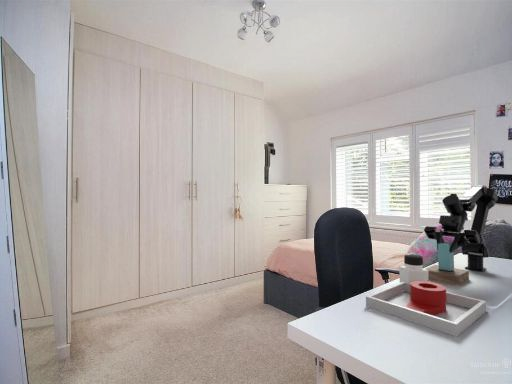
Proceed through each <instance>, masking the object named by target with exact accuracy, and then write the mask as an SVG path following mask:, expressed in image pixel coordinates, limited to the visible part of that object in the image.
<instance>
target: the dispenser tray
mask: <svg viewBox="0 0 512 384" xmlns="http://www.w3.org/2000/svg"><path fill="white" fill-rule="evenodd" d="M404 292H406V293H410V283H407V282H401V283H400V282H399V283H396V284H394V285H391V286H388V287H387V288H384V289H383V288H382V289H381V290H379V291H376V292H374V293H370V294H368V295H366V296H365V307H368V308H371V309H374V310H376V311H380V312H383V313H386V314H388V315H391V316H393V317H397V318H399V319H403V320H405V321H406V320H407V321H409V322H411V323H414V324H417V325H420V326H423V327H426V328H429V329H432V330H436V331H438V332H440V333H441V332H442V333H444V334H447V335H450V336H454V337H455V338H456V337H458V336H460V335H461V334H462V333H463V332H464V331H465V330H466V329H467V328H469V327H470V326H471V325H472V324H473V323H475V322H476V321H477V320H478V319H479V318H480V317H482V316H483V315H484V314H486V313H487V301H486V300H482V299H478V298H474V297H469V296H466V295H463V294H457V293H453V292H449V291H446V303H448V304H451V305H452V304H453V305H456V306H460V307H462V308H463V307H464V308H467V309H468V310H467V311H466V312H465V313H463V314H462V315H460V316H459V317H458V318H456V319H455V320H453V321H451V320H448V319H446V318H445V319H444V318H442V317H439V316H437V315H435V316H432V315H429V314H426V313H423V312H419V311H416V310H413V309H410V308H406V307H407V306H403V305H400V304H396V303H393V302H389V301H387V300H388V299H390V298H393V297H394V296H398V295H399V294H402V293H404Z"/></svg>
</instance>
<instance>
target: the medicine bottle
mask: <svg viewBox="0 0 512 384" xmlns="http://www.w3.org/2000/svg"><path fill="white" fill-rule="evenodd" d="M403 259H404V261H403V262H404V263H403V264H404V265H400V266H399V283H401V282H407V283H411V282H413V281H427V282H430V280H429V271H428V270H426V268H423V267H424V257H423V256H421V255H419V254H418V253H417V254H415V253H407V254H404V258H403Z"/></svg>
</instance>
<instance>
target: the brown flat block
mask: <svg viewBox="0 0 512 384" xmlns="http://www.w3.org/2000/svg"><path fill="white" fill-rule="evenodd" d="M425 269H426V270H428V271H429V281H433V282H434V281H435V282H439V283H444V284H447V285H448V284H449V285H453V286H456V287H458V286H461V285H462V284H463V283H466V282H468V281H469V280H470V271H469V269H461V268H455V267H454V270H451V271H448V270H442V269H439V266H438V264H434V265H431V266H429V267H426V268H425Z"/></svg>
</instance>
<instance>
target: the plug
mask: <svg viewBox="0 0 512 384" xmlns="http://www.w3.org/2000/svg"><path fill="white" fill-rule="evenodd" d="M451 245H452V243H447V242H444V243H439V244H438V250H437V259H438V260H437V261H438V263H437V265H438V266H439V269H442V270H448V271H451V270H454V268H455V255H454V254H455V253H454V252H455V251H453V252H452V253H450V251H449V250H450V247H451Z"/></svg>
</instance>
